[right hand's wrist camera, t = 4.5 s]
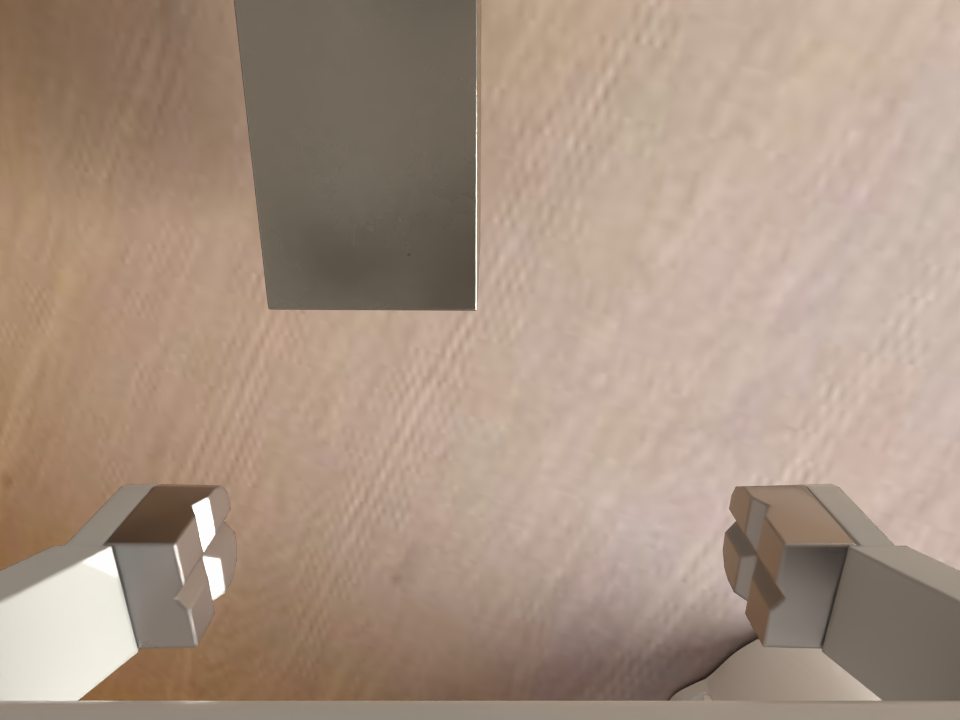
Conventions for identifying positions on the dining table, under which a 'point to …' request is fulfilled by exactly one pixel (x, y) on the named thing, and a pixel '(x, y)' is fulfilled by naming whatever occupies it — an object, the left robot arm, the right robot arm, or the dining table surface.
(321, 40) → the box
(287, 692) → the dining table surface
